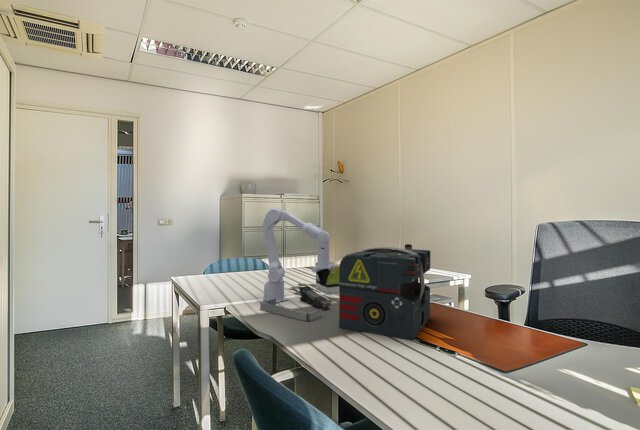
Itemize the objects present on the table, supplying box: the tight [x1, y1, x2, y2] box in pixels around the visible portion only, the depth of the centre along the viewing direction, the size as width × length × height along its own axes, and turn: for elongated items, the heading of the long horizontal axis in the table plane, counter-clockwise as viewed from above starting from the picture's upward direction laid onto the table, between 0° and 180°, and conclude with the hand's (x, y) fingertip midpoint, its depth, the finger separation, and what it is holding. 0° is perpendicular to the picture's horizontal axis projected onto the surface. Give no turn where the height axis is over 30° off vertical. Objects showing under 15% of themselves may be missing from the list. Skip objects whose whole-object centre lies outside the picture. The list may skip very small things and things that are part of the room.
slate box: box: [259, 299, 323, 322], centre depth 153 cm, size 28×9×3 cm, turn 52°
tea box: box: [315, 260, 340, 295], centre depth 194 cm, size 15×10×15 cm, turn 25°
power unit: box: [338, 243, 431, 341], centre depth 140 cm, size 28×28×30 cm
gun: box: [299, 286, 332, 311], centre depth 166 cm, size 4×20×10 cm, turn 35°
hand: (323, 285), depth 171 cm, fingers closed
